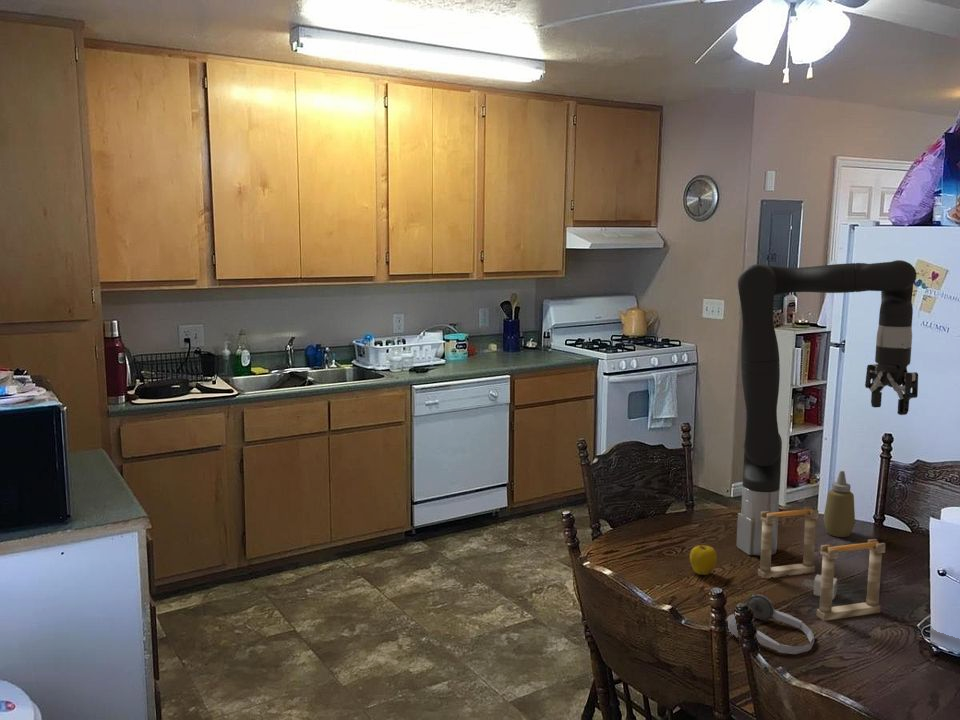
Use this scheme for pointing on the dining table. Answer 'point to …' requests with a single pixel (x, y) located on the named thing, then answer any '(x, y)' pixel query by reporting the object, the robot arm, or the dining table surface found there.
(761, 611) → the headphones
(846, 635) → the dining table surface
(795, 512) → the orange wooden rod
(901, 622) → the dining table surface
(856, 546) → the orange rod
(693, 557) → the apple
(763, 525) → the wooden parallette bars
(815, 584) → the usb wall charger
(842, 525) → the squeeze bottle
